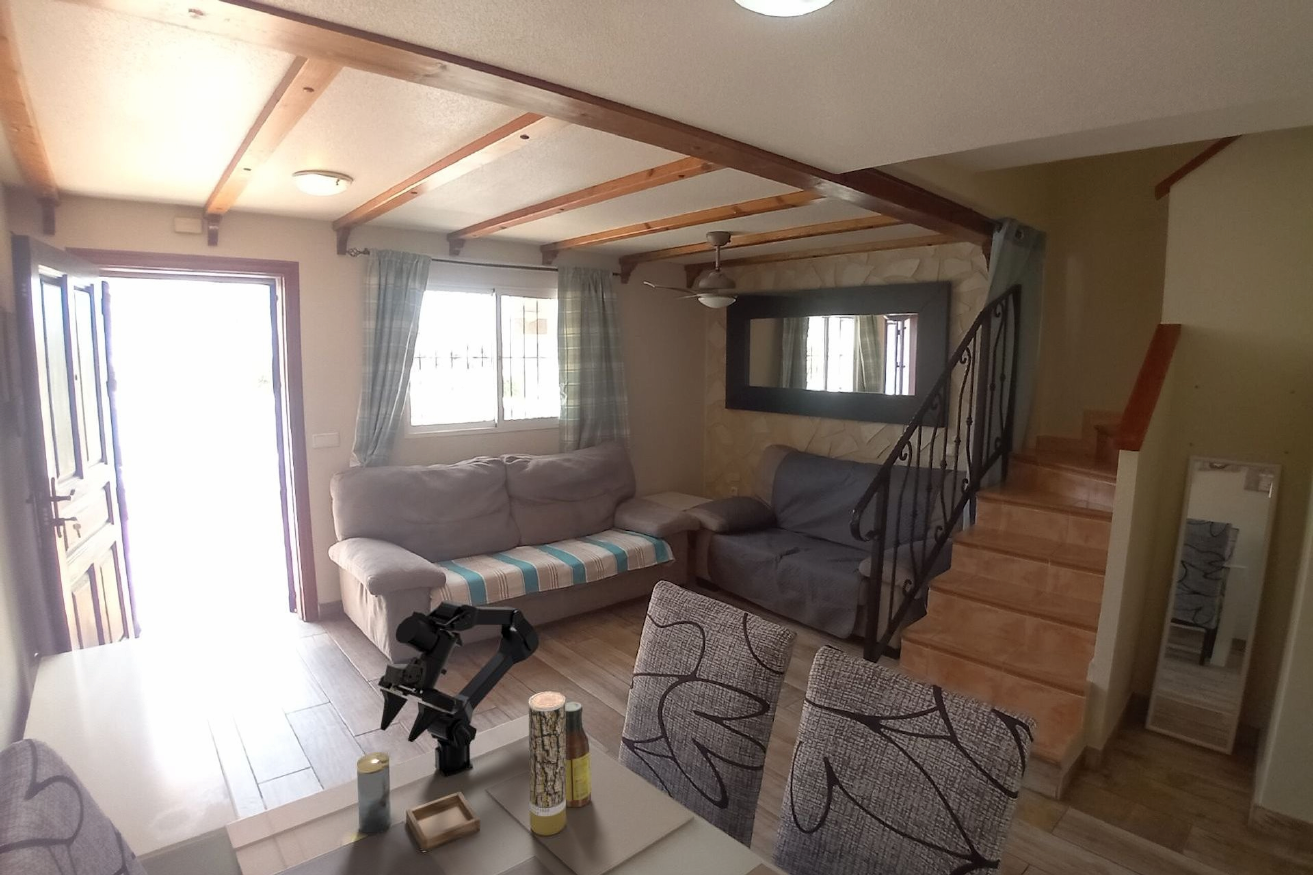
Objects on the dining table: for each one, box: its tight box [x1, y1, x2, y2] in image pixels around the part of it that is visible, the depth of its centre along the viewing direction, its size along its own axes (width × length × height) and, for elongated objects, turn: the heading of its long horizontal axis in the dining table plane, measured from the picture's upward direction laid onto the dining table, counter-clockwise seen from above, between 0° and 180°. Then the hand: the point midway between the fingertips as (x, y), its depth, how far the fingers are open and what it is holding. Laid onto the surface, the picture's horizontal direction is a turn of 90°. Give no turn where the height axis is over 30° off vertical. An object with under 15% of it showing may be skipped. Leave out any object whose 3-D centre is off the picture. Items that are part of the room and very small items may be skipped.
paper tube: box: [528, 691, 567, 836], centre depth 127 cm, size 7×7×25 cm
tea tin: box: [356, 751, 392, 836], centre depth 128 cm, size 6×6×13 cm
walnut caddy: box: [405, 791, 481, 852], centre depth 128 cm, size 11×11×2 cm
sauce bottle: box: [565, 701, 592, 809], centre depth 135 cm, size 7×6×20 cm
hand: (395, 735), depth 134 cm, fingers open, 9 cm apart
